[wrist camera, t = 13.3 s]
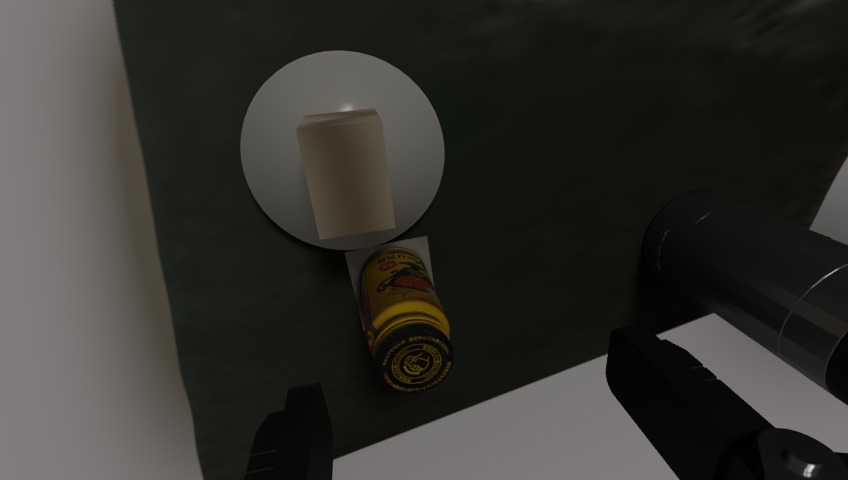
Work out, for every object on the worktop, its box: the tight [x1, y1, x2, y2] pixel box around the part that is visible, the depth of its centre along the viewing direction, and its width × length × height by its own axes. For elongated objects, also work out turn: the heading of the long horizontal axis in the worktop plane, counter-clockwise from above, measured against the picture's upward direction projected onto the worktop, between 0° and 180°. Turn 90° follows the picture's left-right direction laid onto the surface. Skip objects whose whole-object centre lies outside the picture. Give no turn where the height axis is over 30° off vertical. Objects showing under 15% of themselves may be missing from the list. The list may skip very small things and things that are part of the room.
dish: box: [240, 51, 444, 250], centre depth 31 cm, size 15×15×1 cm
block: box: [296, 108, 396, 240], centre depth 28 cm, size 5×7×6 cm
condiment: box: [344, 236, 454, 394], centre depth 32 cm, size 7×8×12 cm
